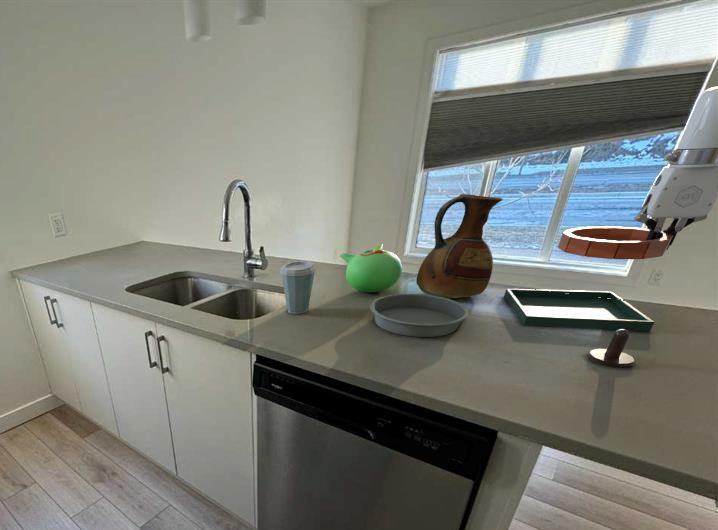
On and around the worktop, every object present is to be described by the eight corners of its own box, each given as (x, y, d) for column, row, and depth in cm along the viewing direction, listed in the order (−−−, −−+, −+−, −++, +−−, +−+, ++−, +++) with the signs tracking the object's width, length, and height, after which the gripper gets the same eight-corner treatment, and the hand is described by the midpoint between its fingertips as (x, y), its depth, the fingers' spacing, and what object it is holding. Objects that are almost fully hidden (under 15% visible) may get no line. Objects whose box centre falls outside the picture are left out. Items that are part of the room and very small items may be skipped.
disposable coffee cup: (298, 319, 124) (300, 270, 116) (272, 311, 131) (272, 265, 124) (320, 309, 129) (323, 262, 122) (294, 302, 137) (295, 257, 129)
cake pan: (419, 348, 101) (422, 331, 98) (350, 319, 120) (352, 304, 118) (486, 326, 109) (490, 310, 106) (411, 301, 128) (414, 288, 126)
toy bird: (359, 301, 133) (364, 256, 125) (334, 287, 147) (338, 246, 140) (408, 293, 135) (416, 248, 128) (379, 280, 150) (385, 239, 142)
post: (623, 354, 90) (638, 324, 87) (639, 369, 84) (655, 337, 81) (583, 351, 93) (595, 322, 89) (595, 365, 87) (609, 335, 83)
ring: (638, 240, 100) (645, 225, 98) (683, 259, 85) (692, 241, 83) (548, 242, 106) (553, 227, 104) (575, 259, 91) (581, 242, 89)
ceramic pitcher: (496, 304, 121) (527, 195, 106) (424, 305, 125) (444, 200, 110) (470, 284, 138) (494, 188, 123) (407, 286, 141) (423, 193, 126)
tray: (608, 300, 117) (612, 291, 115) (649, 332, 98) (654, 322, 97) (503, 296, 126) (506, 288, 124) (523, 325, 107) (526, 316, 106)
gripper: (658, 162, 83) (619, 253, 92) (763, 155, 78) (711, 252, 87) (639, 160, 89) (605, 246, 98) (736, 154, 84) (690, 245, 93)
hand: (655, 248), depth 93 cm, fingers closed on ring, 1 cm apart
